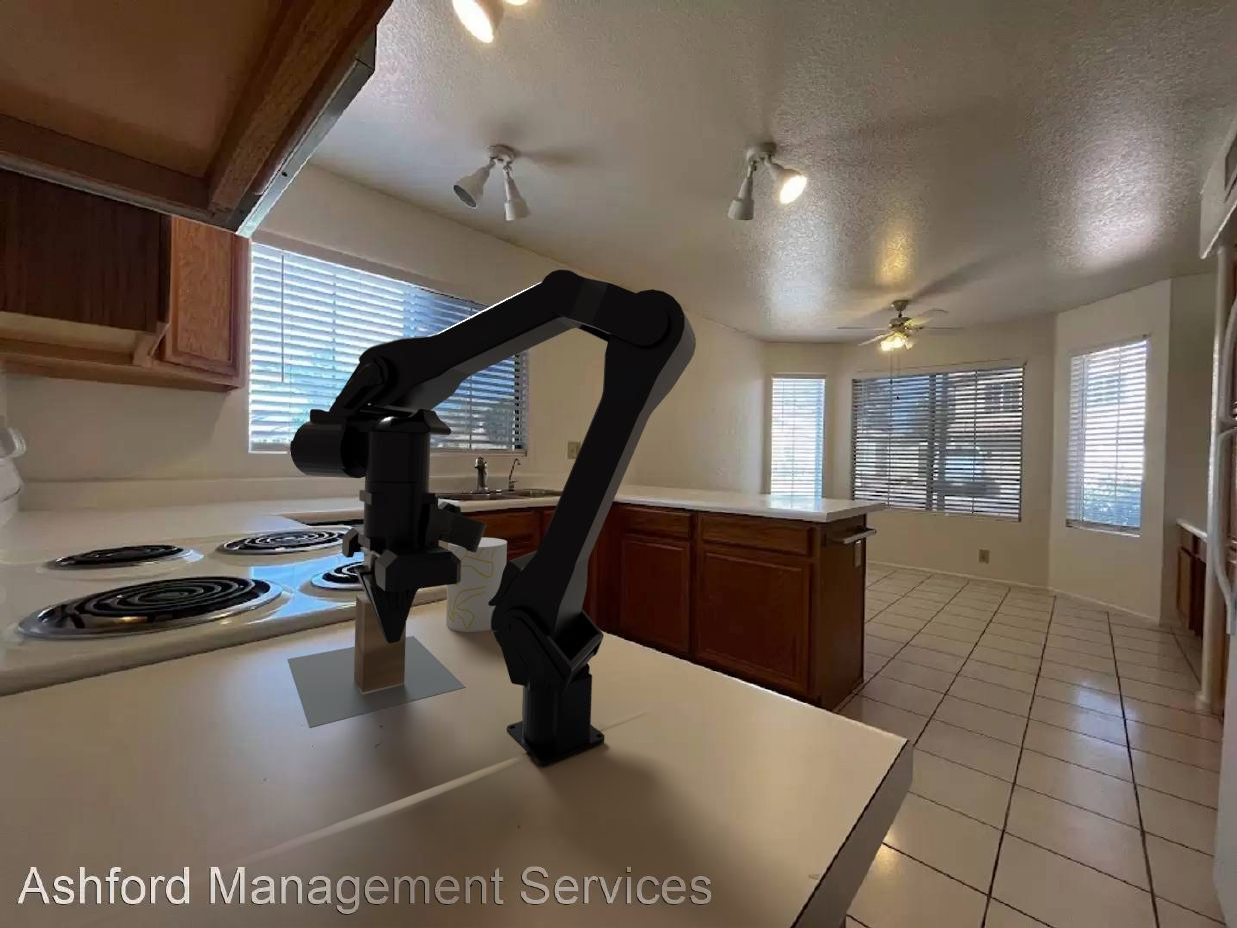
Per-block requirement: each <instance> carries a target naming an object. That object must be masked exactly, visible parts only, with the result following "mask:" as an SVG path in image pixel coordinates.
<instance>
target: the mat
mask: <svg viewBox="0 0 1237 928" xmlns="http://www.w3.org/2000/svg"><path fill="white" fill-rule="evenodd" d="M354 656H355V646H351V647H346V648H341V649H336V650H330V651H324V652H319V653H313V654H307V655H301V656H297V657H291V658H287V663H288V665H289V669H290V670H291V674H292V679H293V681H294V684H295V687H296V690H297V694H298V695H299V699H300V703H301V705H302V708H303V711H304V716H305V718H306V721H307V724H308V727H309V728H308V729H312V728H315V727H319V726H322V725H327V724H330V723H331V724H332V723H334V722H335V723H336V722H338V721H341V720H346V719H349V718H353V717H357V716H361V715H362V716H363V715H365V714H369V713H372V712H377V711H380V710H383V709H388V708H391V707H392V708H393V707H396V706H399V705H404V704H407V703H410V702H415V701H419V700H422V699H426V698H430V697H434V696H438V695H442V694H445V693H449V692H453V691H457V690H460V689H465V688H466V686H465V684H463V683H462V682H461V681H460V679H458V678H457V677H456V676H455V675H454V674H453V673H452V672H451V671H450V670H449V669H448V668H447V667H446V666H445V665H444V664H443V663H442V662H441V661H440V660H439V659H438V658H437V657H436V656H434V654H433V653H432V652H431V651H429V649H427V647H425V646H424V644H423V643H421V642H420V640H418V639H417V638H416V636H414V635H409V636H406V643H405V678H404V685H401V686H397V687H392V688H388V689H384V690H380V691H376V692H372V693H367V694H363V695H362V693H361V692H360V690H359V688H358V686H357V685H356V683H355V681H354Z"/></svg>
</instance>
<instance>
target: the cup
mask: <svg viewBox="0 0 1237 928" xmlns="http://www.w3.org/2000/svg"><path fill="white" fill-rule="evenodd" d="M447 544H448V548H447V550H449V551H451V552H452V553H453V554H455V555H456V556H457V557H458V558H459V559H460V560H461V580H460V582H459V583H457V584H451V585H446V615H445V617H446V618H445V625H446V627H447V628H448V629H450V630H453V631H457V632H463V633H474V632H475V633H478V632H485V631H486V632H487V631H490V630H491V616H492V612H493V610H494V608H495V606H489V605H488V602H489V601H490V600H491V599H492V598H493V597H494V596H495V594H496V593H497V591H498V589H499V586H500V583H501V578H502V574H503V570H504V568H505V566H506V564H507V556H508V555H507V552H508V541H507V540H505V539H501V538H496V537H482V538H481V541H480V544H479V546H478V549H477V552H476V553H474V552H471V551H467V550H466V549H465V548H463V547H460V546H457V545H454V544H450V543H447ZM491 631H492V630H491Z"/></svg>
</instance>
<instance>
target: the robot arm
mask: <svg viewBox="0 0 1237 928" xmlns="http://www.w3.org/2000/svg"><path fill="white" fill-rule="evenodd" d="M573 329H578V330H580V331H583V332H585V333H588V334H590V335H592V336H594V337H596V338H598V339H600V340H602V341H604V342H606V349H605V353H604V360H603V361H604V363H603V364H604V365H603V383H602V384H603V385H602V392H601V397H600V400H599V402H598V405H597V406H596V410H595V412H594V415H593V417H592V420H591V422H590V424H589V426H588V430H587V431H586V434H585V436H584V438H583V440H582V443H581V445H580V448H579V451H578V452H577V455H576V458H575V461H574V463H573V464H572V468H571V470H570V472H569V474H568V477H567V479H566V482H565V483H564V484H565V485H564V487H563V489H562V491H561V494H560V496H559V499H558V501H557V504H556V506H555V508H554V511H553V513H552V515H551V517H550V520H549V523H548V526H547V527H546V530H545V533H544V535H543V538H542V540H541V542H540V544H539V546H538V548H537V549H536V550H535V551H533V552H529V553H527V554H524V555H522V556H519V557H517V558H513V559H512V560H508V561H506V566H505V568H504V570H503V574H502V578H501V583H500V586H499V589H498V591H497V593H496V594H495V596H494V597H493V598H492V599H491V600H490V601H489V602H488V605H489V606H495V608H494V610H493V612H492V616H491V632H492V633H493V634H494V635H493V636H494V638H495V642H496V643H497V644H498V645H499V647H500V648H501V652H502V655H503V659H504V663H505V666H506V669H507V673H508V676H509V680H510V683H511V684H513V685H517V686H522V707H521V708H522V709H521V717H522V719H521V720H520V721H517V722H514V723H512V724H509V725H507V726H506V732H507V734H509V735H510V737H512V739H514V740H515V741H516V742H517V744H518V745H520V746H521V747H522V749H524V750H525V752H526V754H527V756H529V757H530V758H531V760H533V761H534V762H535V763H536V764H537V765H538V766H541V767H545V766H548V765H551V764H553V763H556V762H559V761H561V760H563V759H566V758H568V757H570V756H571V757H572V756H573V755H576V754H578V753H581V752H583V751H586V750H588V749H591V748H594V747H596V746H598V745H601V744H603V743H604V742H605V739H606V738H605V736H606V735H605V734H604V733H603V732H602V731H600V730H599V729H598V728H596V727H595V726H593V724H591V723H592V722H591V721H592V698H593V697H592V696H593V695H592V694H593V693H592V692H593V675H592V674H591V673H590V665H589V661H590V660H591V659H592V658H593V657H595V656H596V655H597V654H598V652H599V650H600V647H601V644H602V643H603V640H604V638H605V636H604V633H603V632H602V630H601V629H600V628H599V626H597V624H596V623H595V622H594V621H593V619H592V618H591V617H590V616H589V615H588V614H587V612H586V611H585V610H584V609H583V604H584V602H585V601H584V600H585V596H586V592H587V587H588V567H589V560H590V556H591V554H592V552H593V549H594V546H595V544H596V543H597V540H598V537H599V535H600V532H601V530H602V527H603V525H604V523H605V520H606V518H607V516H608V514H609V511H610V509H611V506H612V505H613V502H614V500H615V497H616V495H617V493H618V492H619V491H618V490H619V489H620V486H621V484H622V482H623V479H624V476H625V474H626V472H627V470H628V468H629V464H630V462H631V460H632V458H633V455H634V453H635V451H636V448H637V446H638V444H639V441H640V439H641V438H642V435H643V432H644V430H645V427H646V425H647V424H648V423H647V422H648V421H649V418H650V417H651V415H652V413H654V411H655V410H656V409H657V408H658V406H659V405H660V404H661V402H663V400H664V399H665V398H666V397H667V396H668V394H670V392H671V391H672V390H673V388H674V387H675V385H676V384H677V382H678V380H679V379H680V377H681V376H682V374H683V373H684V372H685V371H686V368H687V367H688V365H689V364H690V362H691V360H692V359H693V357H694V355H695V350H696V347H697V344H696V343H697V338H696V334H695V331H694V330H693V326H692V325H691V323H690V320H689V319H688V317H687V315H686V313H685V311H684V310H683V308H682V305H681V304H680V303H679V302H678V300H676V298H675V297H674V296H672V295H671V294H669V293H667V292H665V291H664V290H658V289H645V290H639V291H638V292H635V291H633V290H629V289H627V288H624V287H622V286H619V285H617V284H614V283H612V282H608V281H603V280H597V279H592V278H588V277H585V276H582V275H579V274H577V273H575V272H574V271H572V270H569V269H556V270H553V271H551V272H549V273H548V274H547V275H545V276H544V278H543V280H541V281H540V282H537V283H536V284H534V285H531V286H529V287H528V288H525V289H524V290H522V291H519V292H518V293H516V294H514V295H511V296H510V297H507V298H505V299H504V300H501V301H500V302H498V303H496V304H493V305H491V306H489V307H488V308H486V309H485V308H484V310H481V311H479V312H477V313H475V314H474V315H472V316H469V317H468V318H465V319H463V320H461V321H459V322H457V323H455V324H454V325H451V326H449V327H448V328H445V329H444V330H441V331H439V332H436V333H433V334H428V335H421V336H410V337H398V338H396V339H392V340H389V341H385V342H383V343H382V342H381V343H378V344H376V345H372V346H370V347H367V349H365V350H364V351H363V352H362V354H361V355H360V356H359V358H358V364H357V366H356V367H355V369H354V370H353V372H352V374H351V376H350V377H349V379H348V380H347V381H346V383H345V384H344V386H343V388H341V391H340V392H339V394H338V395H337V396H336V397H335V400H334V401H333V403H332V405H331V407H330V408H329V409H320V408H318V409H317V408H311V409H310V410H309V420H308V421H306V422H304V423H303V424H301V426H299V428H298V429H297V430H296V432H295V433H294V435H293V438H292V440H291V441H290V444H289V451H290V456H291V460H292V462H293V465H294V466H295V468H297V469H298V470H299V471H300V472H301V473H303V474H305V475H307V476H311V477H323V478H324V477H325V478H326V477H327V478H328V477H329V478H340V479H341V478H345V479H362V478H363V479H364V489H359V495H358V496H359V497H358V498H359V499H358V500H359V502H363V503H364V504H363V526H356V527H355V526H353V527H350V529H349V530H347V531H346V533H345V534H343V536H342V538H341V539H342V542H341V543H342V545H341V554H342V555H343V556H344V557H345V558H347V559H349V558H354V556H355V554H356V553H362V554H363V565H356V566H354V567H353V568H354V569H353V570H354V572H355V574H356V575H357V578H358V580H359V583H360V584H361V586H362V589H363V591H364V594H366V596H367V598H368V600H369V603H370V605H371V607H372V609H373V612H374V614H375V616H376V619H377V621H378V623H379V626H380V628H381V630H382V633H383V635H384V637H385V640H386V641H387V642H388V643H395V642H399V641H400V639H401V636H402V633H403V630H404V627H405V624H406V625H407V620H408V617H409V615H410V611H411V608H412V605H413V602H414V599H415V597H416V595H417V593H418V591H419V589H427V588H434V587H443V586H444V587H445V586H447V585H451V584H457V583H459V582H460V580H461V560H460V559H459V558H458V557H457V556H456V555H455V554H453V553H452V552H451V551H449V550H448V548H445V547H443V546H441V545H440V542H445V543H447V544H448V543H450V544H454V545H457V546H460V547H463V548H465V549H466V550H467V551H471V552H474V553H476V552H477V549H478V546H479V544H480V541H481V538H483V535H484V533H485V529H486V527H487V523H485V522H482V521H479V520H476V519H473V518H471V517H466V516H463V515H462V509H461V506H460V505H456V504H452V503H451V502H447V501H442V502H441V503H440V504H439V496H438V495H436V494H437V493H436V492H433V491H430V472H431V471H430V470H431V469H430V466H431V442H432V441H431V437H432V436H449V435H451V433H452V429H451V427H449V426H448V425H447V424H446V423H445V422H444V421H443V420H442V419H440V417H439V416H438V415H437V412H436V411H435V410H433V409H434V408H436V407H437V406H440V404H442V403H443V402H445V401H446V400H447V399H449V398H451V397H452V396H454V394H455V393H456V391H457V390H458V389H459V387H460V385H461V384H462V383H463V382H464V381H465V380H467V379H468V378H469V377H472V376H473V375H475V374H477V373H479V372H481V371H483V370H486V369H488V368H490V367H492V366H493V365H496V364H498V363H501V362H503V361H506V360H508V359H510V358H512V357H514V356H515V355H517V354H521V353H523V352H524V351H526V350H529V349H531V348H533V347H536V346H537V345H540V344H542V343H544V342H546V341H548V340H551V339H552V338H555V337H557V336H559V335H561V334H563V333H566V332H567V331H571V330H573Z"/></svg>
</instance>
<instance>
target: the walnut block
mask: <svg viewBox="0 0 1237 928" xmlns="http://www.w3.org/2000/svg"><path fill="white" fill-rule="evenodd" d="M354 620H355V623H354V625H355V629H354V647H355V656H354V681H355V683H356V685H357V686H358V688H359V690H360V692H361V693H362V695H363V694H367V693H372V692H376V691H380V690H384V689H388V688H392V687H397V686H401V685H404V678H405V643H406V637H407V636H406V635H407V632H406V631H407V623H406V624H405V627H404V630H403V633H402V636H401V639H400V641H399V642H395V643H388V642H387V641H386V640H385V637H384V635H383V633H382V630H381V628H380V626H379V623H378V621H377V619H376V616H375V614H374V612H373V609H372V607H371V605H370V603H369V600H368V598H367V596H366V594H365V593H364V594H357V595H355V619H354Z"/></svg>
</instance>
